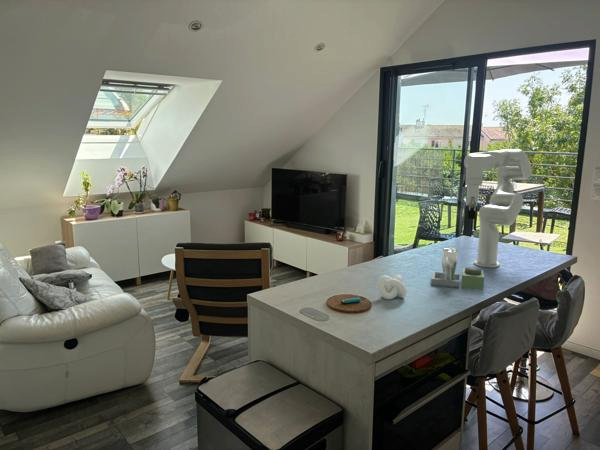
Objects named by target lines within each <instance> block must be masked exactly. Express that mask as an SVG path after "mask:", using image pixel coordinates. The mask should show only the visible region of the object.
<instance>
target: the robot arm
mask: <svg viewBox="0 0 600 450" xmlns="http://www.w3.org/2000/svg"><path fill="white" fill-rule="evenodd" d="M463 165H464V167H465V168H466V171H465V186H467V188H466V195H465V197H466V198H465V206H467V219H468V220H475V219H476V214H477V213H476V212H477V211H476V207H477V205H478V201H479V191H480V186H482V185H483V178H484V176H483V175H484V171H491V170H493V169H496V168H497V169H496V179H497V186H496V188H495V189H494V191H493V193H492V194H491V197H490V199H489V204H484V205H482V206H481V207H480V208H479V210H478V218H479V219H478V220H479V233H478V246H477V256H476V257H477V259H475V260H474V261H473V264H474V265H475V266H478V267H481V268H490V269H491V268H493V269H494V268H498V267H500V264H501V263H500V262H499V261H498V249H499V239H500V237H499V236H500V231H499V229H498V227H497V226H507V227H508V226H509V227H510V226H512V225H513V224H514V223H515V221H516V219H517V217H518V216H519V213H520V211H522V207H523V205H524V197H523V195H522V194H521V193H518V192H514V191H515V187H514V185H513V184H512V182H511V181H510V179H511V180H517V181H518V180H520V181H526V180H529V179H530V178H531V176H532V173H533V172H532V171H533V169H532V168H533V167H532V165H531V162H530V160H529V157H528V156H527V154H526V152H524V150H522V149H499V150H492V151H483V152H472V153H468V154H467V155H466V156H465V158H464V160H463Z"/></svg>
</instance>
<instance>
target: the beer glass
mask: <svg viewBox="0 0 600 450" xmlns="http://www.w3.org/2000/svg"><path fill="white" fill-rule="evenodd" d="M458 254H459V250H458V249H457V248H452V247H451V248H450V247H445V248H442V252H441V267H442V272H443V275H442V279H446V280H455V273H456V269H457V266H458V262H459V261H458V260H459V255H458Z"/></svg>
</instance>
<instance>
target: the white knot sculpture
mask: <svg viewBox="0 0 600 450" xmlns="http://www.w3.org/2000/svg"><path fill="white" fill-rule="evenodd" d="M377 290H378V292H379V294H380V296H381V297H382V298H384V300H393V299H394V298H396V296H397V297H398V298H400V299H401V298H402V299H403V298H405V297H406V296H407V293H408V292H407V288H406V286H405V284H404V283H403V277H402V275H400V274H397V275H394V277H393V278H392V277H391V276H389V275H386V274H384V275H381V276H380V277H379V279H378V281H377Z"/></svg>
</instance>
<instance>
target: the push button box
mask: <svg viewBox="0 0 600 450" xmlns="http://www.w3.org/2000/svg"><path fill="white" fill-rule="evenodd" d="M484 273H485V272H484V269H482V268H480V267H475V266H467V267H462V270H461V274H460V273H456V272H455V280H446V279H442V275H443V271H434V270H433V271H432V277H431V286H436V287H437V286H439V287H446V288H455V287H456V288H457V289H460V283H461V289H464V290H465V289H467V290H468V289H469V290H476V291H477V290H478V291H484V285H485V275H484ZM460 275H461V277H460ZM460 278H461V281H460Z"/></svg>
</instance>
